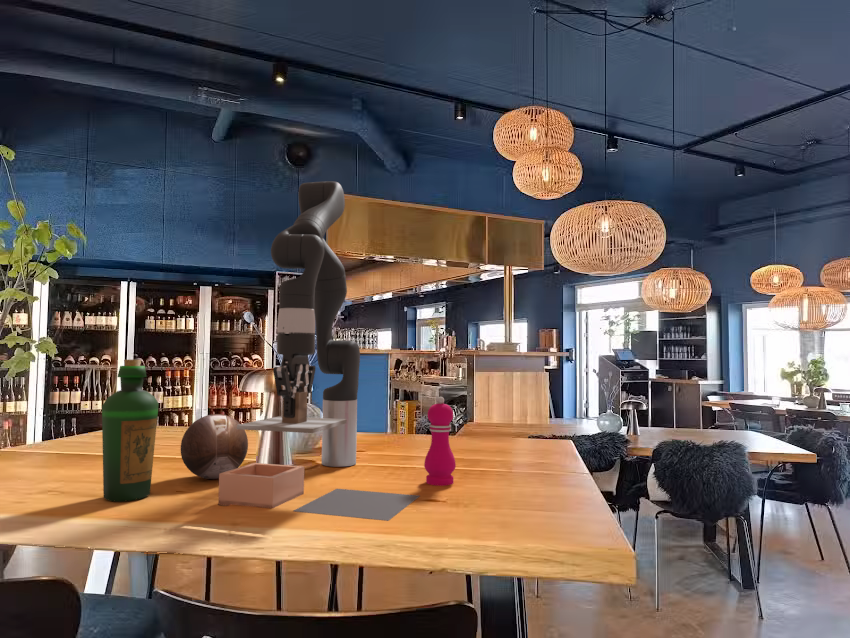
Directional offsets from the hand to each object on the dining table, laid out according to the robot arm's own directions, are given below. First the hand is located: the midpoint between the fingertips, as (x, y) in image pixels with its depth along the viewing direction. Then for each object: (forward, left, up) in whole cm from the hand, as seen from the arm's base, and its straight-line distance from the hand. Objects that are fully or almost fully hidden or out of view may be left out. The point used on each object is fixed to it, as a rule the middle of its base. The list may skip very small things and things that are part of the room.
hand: (294, 415), depth 117 cm
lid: (0, 0, -2) cm, 2 cm away
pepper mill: (-25, +24, -17) cm, 39 cm away
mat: (-2, +14, -17) cm, 22 cm away
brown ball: (-13, -28, -17) cm, 35 cm away
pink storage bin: (+1, -6, -17) cm, 18 cm away
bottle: (+8, -33, -17) cm, 38 cm away
